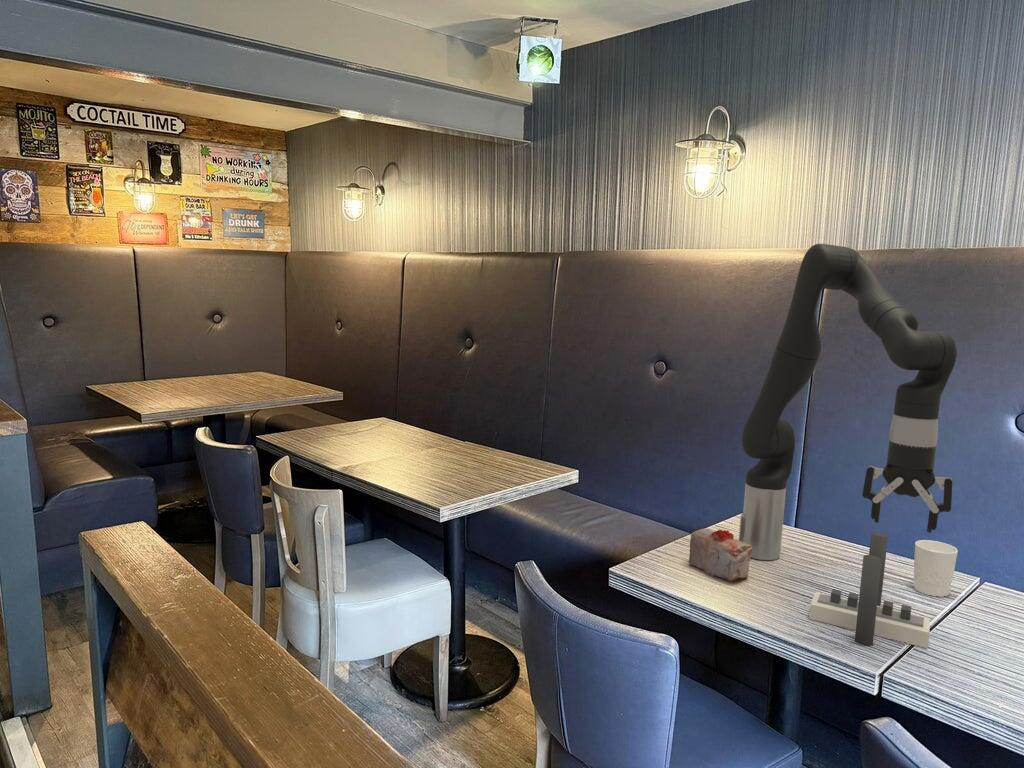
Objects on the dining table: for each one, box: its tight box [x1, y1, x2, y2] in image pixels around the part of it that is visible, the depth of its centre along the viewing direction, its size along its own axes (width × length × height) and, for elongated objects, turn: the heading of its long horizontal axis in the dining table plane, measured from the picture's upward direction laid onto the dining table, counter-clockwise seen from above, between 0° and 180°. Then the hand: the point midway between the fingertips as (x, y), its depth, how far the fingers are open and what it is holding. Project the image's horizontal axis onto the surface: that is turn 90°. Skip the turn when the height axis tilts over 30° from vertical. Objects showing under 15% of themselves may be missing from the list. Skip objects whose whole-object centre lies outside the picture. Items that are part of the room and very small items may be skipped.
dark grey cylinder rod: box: [868, 531, 889, 607], centre depth 141 cm, size 3×3×16 cm
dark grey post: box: [854, 554, 882, 647], centre depth 129 cm, size 3×3×16 cm
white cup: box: [913, 539, 959, 598], centre depth 153 cm, size 8×8×10 cm
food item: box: [688, 528, 752, 582], centre depth 159 cm, size 14×8×10 cm, turn 37°
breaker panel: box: [808, 588, 931, 649], centre depth 136 cm, size 20×7×5 cm, turn 58°
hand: (902, 526), depth 131 cm, fingers open, 8 cm apart
